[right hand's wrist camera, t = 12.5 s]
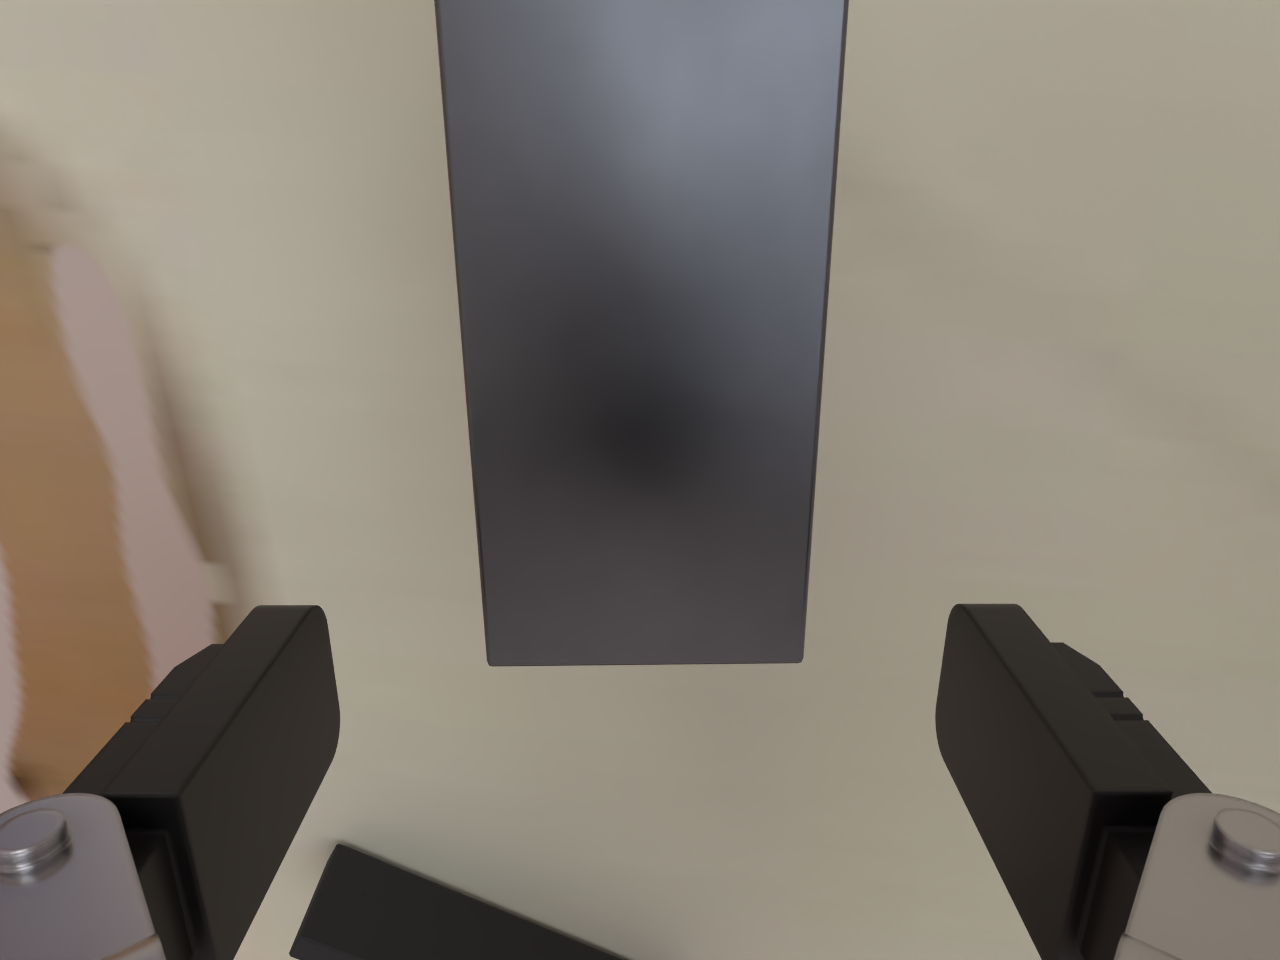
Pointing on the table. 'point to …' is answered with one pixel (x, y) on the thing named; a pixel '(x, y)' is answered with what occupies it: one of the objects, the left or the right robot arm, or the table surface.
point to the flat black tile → (414, 920)
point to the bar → (643, 317)
